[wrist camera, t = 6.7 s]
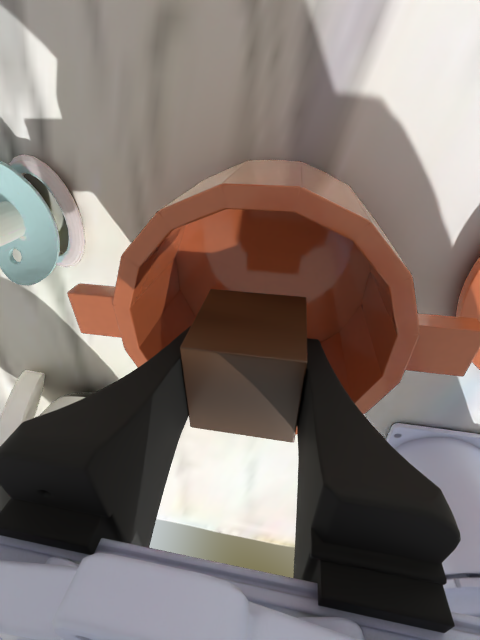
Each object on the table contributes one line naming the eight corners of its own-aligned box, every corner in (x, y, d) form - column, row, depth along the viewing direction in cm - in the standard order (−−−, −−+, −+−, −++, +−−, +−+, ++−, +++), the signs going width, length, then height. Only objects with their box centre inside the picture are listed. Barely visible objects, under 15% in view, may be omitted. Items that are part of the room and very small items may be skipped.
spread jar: (155, 455, 32) (91, 601, 22) (55, 436, 33) (-45, 567, 24) (136, 369, 25) (34, 527, 15) (12, 351, 26) (-153, 486, 17)
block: (296, 369, 15) (293, 443, 11) (214, 359, 15) (190, 427, 12) (306, 296, 12) (307, 362, 9) (210, 288, 13) (178, 347, 10)
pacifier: (63, 142, 16) (-35, 148, 17) (-42, 155, 11) (-174, 163, 12) (104, 269, 20) (24, 269, 21) (41, 323, 15) (-62, 319, 16)
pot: (396, 372, 21) (428, 460, 15) (144, 343, 23) (98, 410, 18) (478, 164, 14) (587, 197, 8) (104, 154, 16) (8, 175, 11)
